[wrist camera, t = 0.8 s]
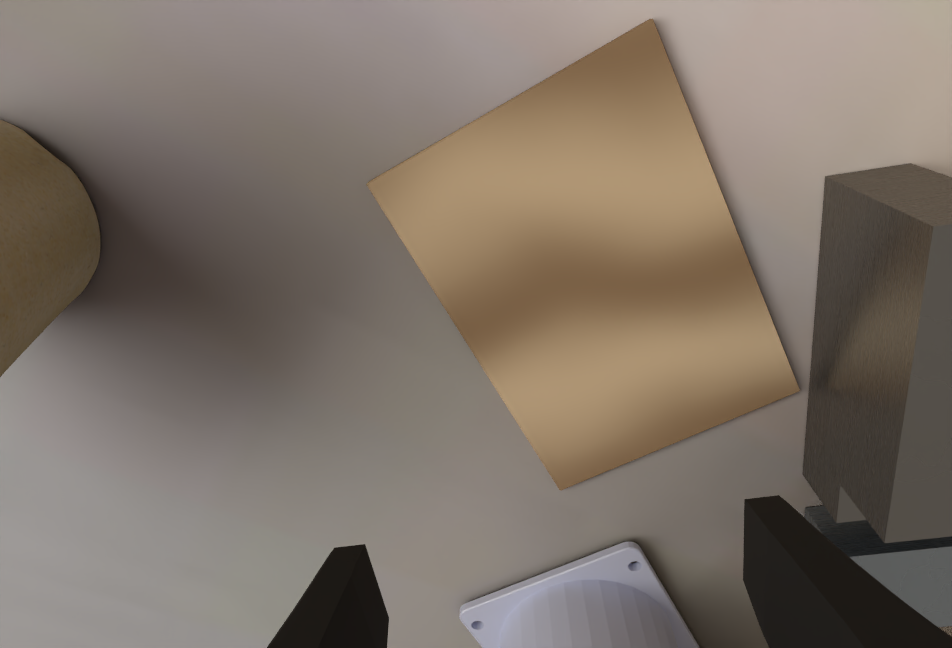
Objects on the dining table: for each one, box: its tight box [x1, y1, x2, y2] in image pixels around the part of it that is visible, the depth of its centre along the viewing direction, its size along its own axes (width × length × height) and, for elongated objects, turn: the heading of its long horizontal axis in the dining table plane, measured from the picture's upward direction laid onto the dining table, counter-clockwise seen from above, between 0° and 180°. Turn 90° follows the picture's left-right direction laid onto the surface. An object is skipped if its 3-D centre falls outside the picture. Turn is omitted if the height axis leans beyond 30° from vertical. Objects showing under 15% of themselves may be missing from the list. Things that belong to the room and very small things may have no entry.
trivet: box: [366, 19, 800, 490], centre depth 20 cm, size 13×9×1 cm
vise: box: [805, 506, 952, 627], centre depth 22 cm, size 9×7×4 cm
